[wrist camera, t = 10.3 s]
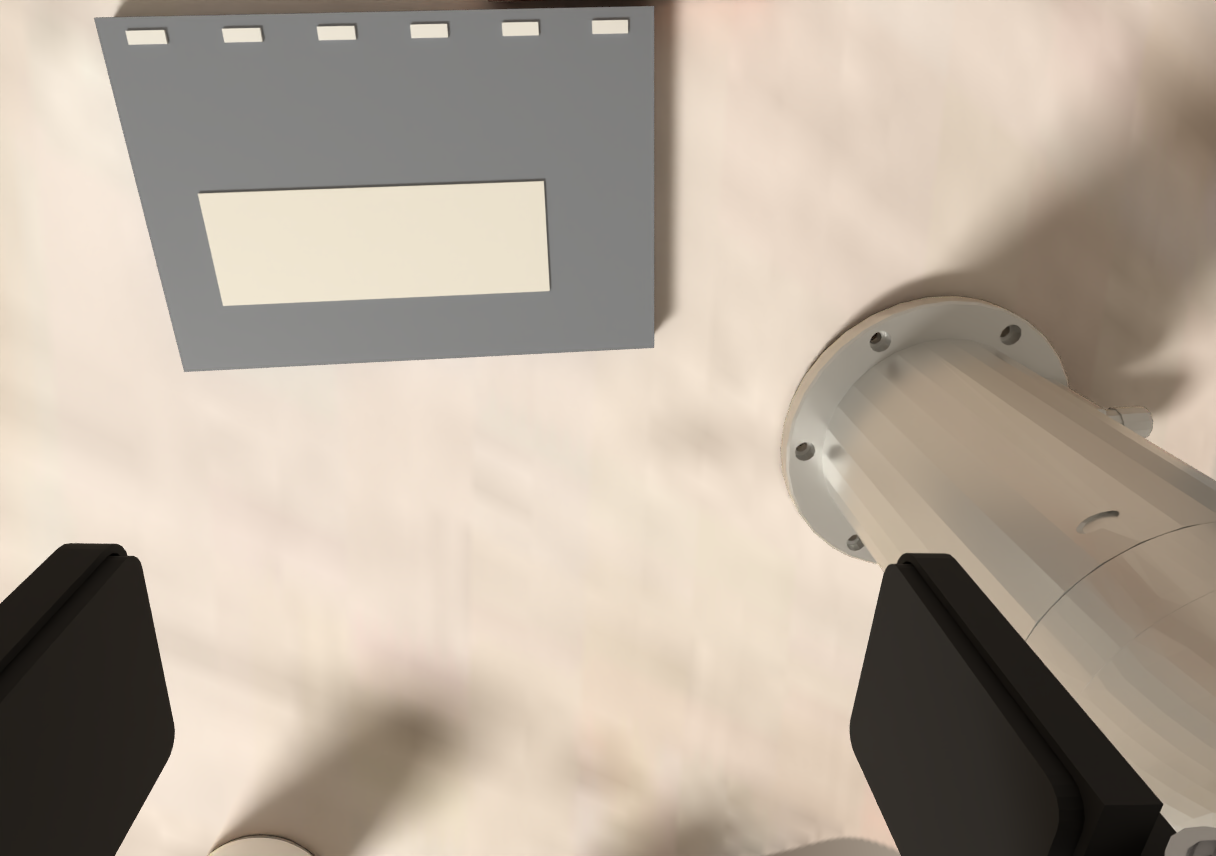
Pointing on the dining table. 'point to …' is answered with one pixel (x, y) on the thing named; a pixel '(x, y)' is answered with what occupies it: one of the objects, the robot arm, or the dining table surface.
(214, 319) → the board
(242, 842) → the can
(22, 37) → the dining table surface
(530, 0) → the wooden t-shaped block
